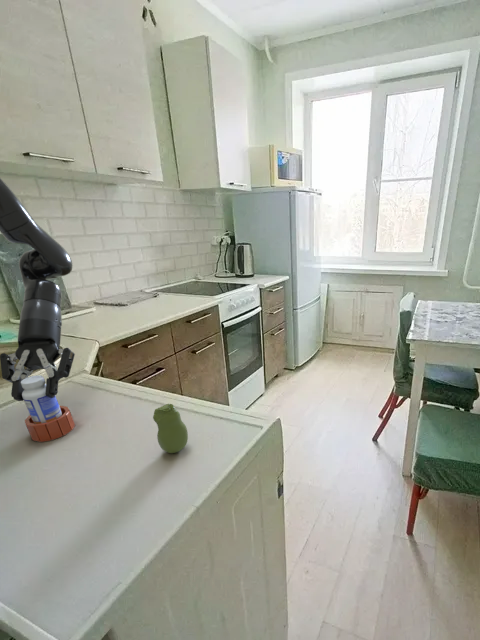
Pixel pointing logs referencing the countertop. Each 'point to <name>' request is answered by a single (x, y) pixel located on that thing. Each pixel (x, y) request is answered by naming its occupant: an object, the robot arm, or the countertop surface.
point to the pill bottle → (39, 400)
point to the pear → (170, 429)
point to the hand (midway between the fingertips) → (34, 398)
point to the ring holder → (51, 427)
